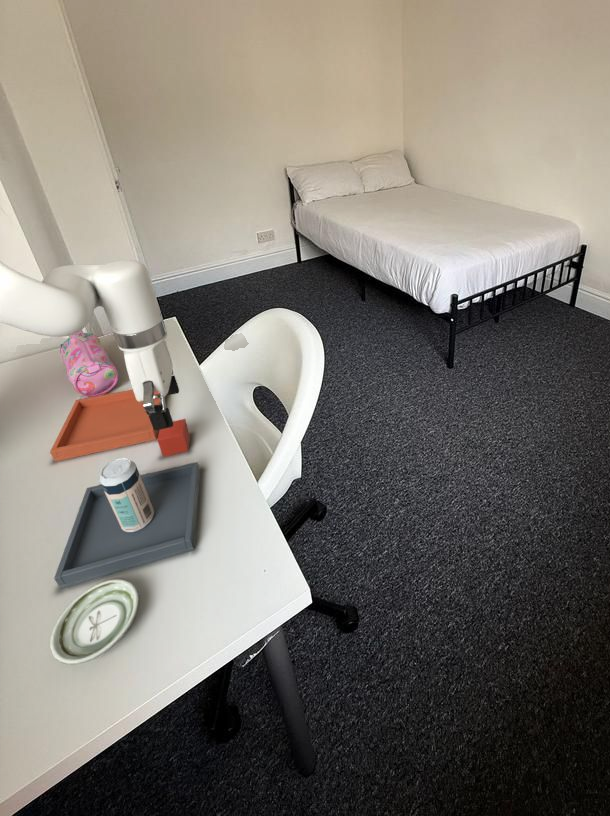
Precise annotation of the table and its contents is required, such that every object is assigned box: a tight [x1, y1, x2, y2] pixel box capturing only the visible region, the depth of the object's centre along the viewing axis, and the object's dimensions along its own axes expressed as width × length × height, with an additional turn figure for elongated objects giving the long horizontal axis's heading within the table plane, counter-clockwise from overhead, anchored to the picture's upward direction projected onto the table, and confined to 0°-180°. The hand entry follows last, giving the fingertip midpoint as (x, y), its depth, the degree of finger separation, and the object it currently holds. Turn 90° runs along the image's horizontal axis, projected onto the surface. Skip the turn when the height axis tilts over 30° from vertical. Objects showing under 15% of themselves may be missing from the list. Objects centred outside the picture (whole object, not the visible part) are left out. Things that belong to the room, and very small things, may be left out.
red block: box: [156, 418, 191, 458], centre depth 81 cm, size 4×4×4 cm
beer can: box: [99, 457, 154, 532], centre depth 65 cm, size 5×5×12 cm
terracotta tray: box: [49, 389, 160, 462], centre depth 88 cm, size 18×16×3 cm
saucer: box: [49, 578, 140, 666], centre depth 54 cm, size 10×10×2 cm
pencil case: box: [59, 330, 120, 398], centre depth 100 cm, size 21×9×9 cm, turn 41°
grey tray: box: [53, 461, 201, 590], centre depth 67 cm, size 18×16×3 cm
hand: (167, 409), depth 78 cm, fingers open, 9 cm apart
